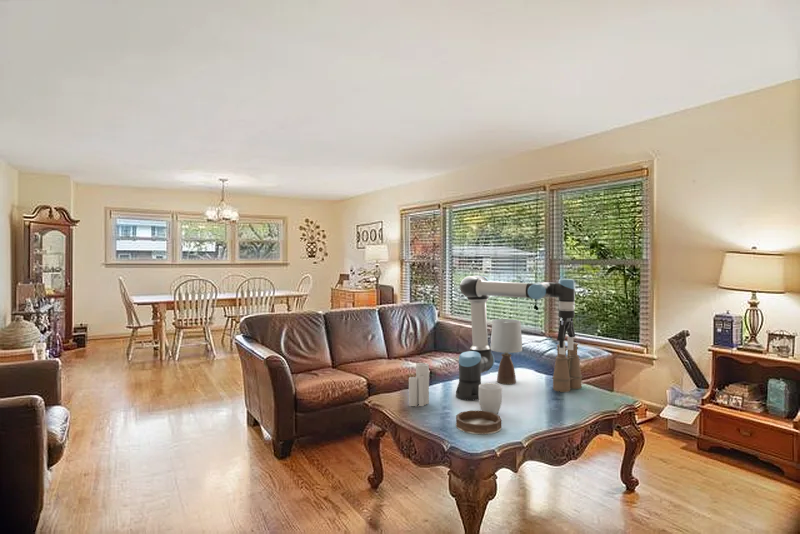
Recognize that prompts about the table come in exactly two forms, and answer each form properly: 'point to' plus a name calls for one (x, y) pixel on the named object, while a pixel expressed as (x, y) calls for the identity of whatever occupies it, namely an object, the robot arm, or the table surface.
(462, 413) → the holder
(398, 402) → the table surface
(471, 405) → the table surface
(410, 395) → the vase
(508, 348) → the lamp
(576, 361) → the binoculars
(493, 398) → the mug
